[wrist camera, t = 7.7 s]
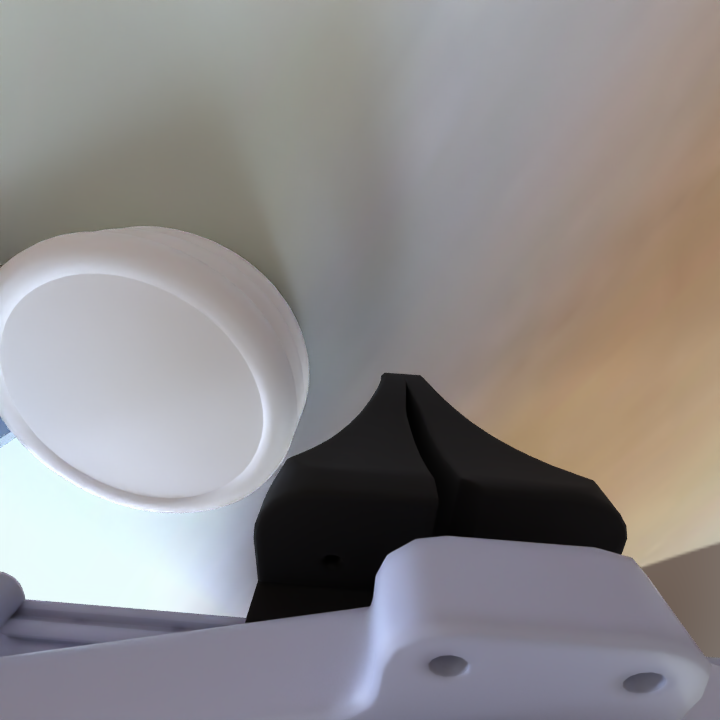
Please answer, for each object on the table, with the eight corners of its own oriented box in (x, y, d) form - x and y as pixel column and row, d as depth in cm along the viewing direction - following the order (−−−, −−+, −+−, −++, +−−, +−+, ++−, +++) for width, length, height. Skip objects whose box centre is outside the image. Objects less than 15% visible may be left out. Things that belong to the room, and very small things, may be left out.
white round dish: (34, 199, 12) (-96, 199, 8) (327, 253, 12) (309, 272, 9) (83, 437, 16) (9, 497, 13) (299, 473, 16) (280, 540, 13)
